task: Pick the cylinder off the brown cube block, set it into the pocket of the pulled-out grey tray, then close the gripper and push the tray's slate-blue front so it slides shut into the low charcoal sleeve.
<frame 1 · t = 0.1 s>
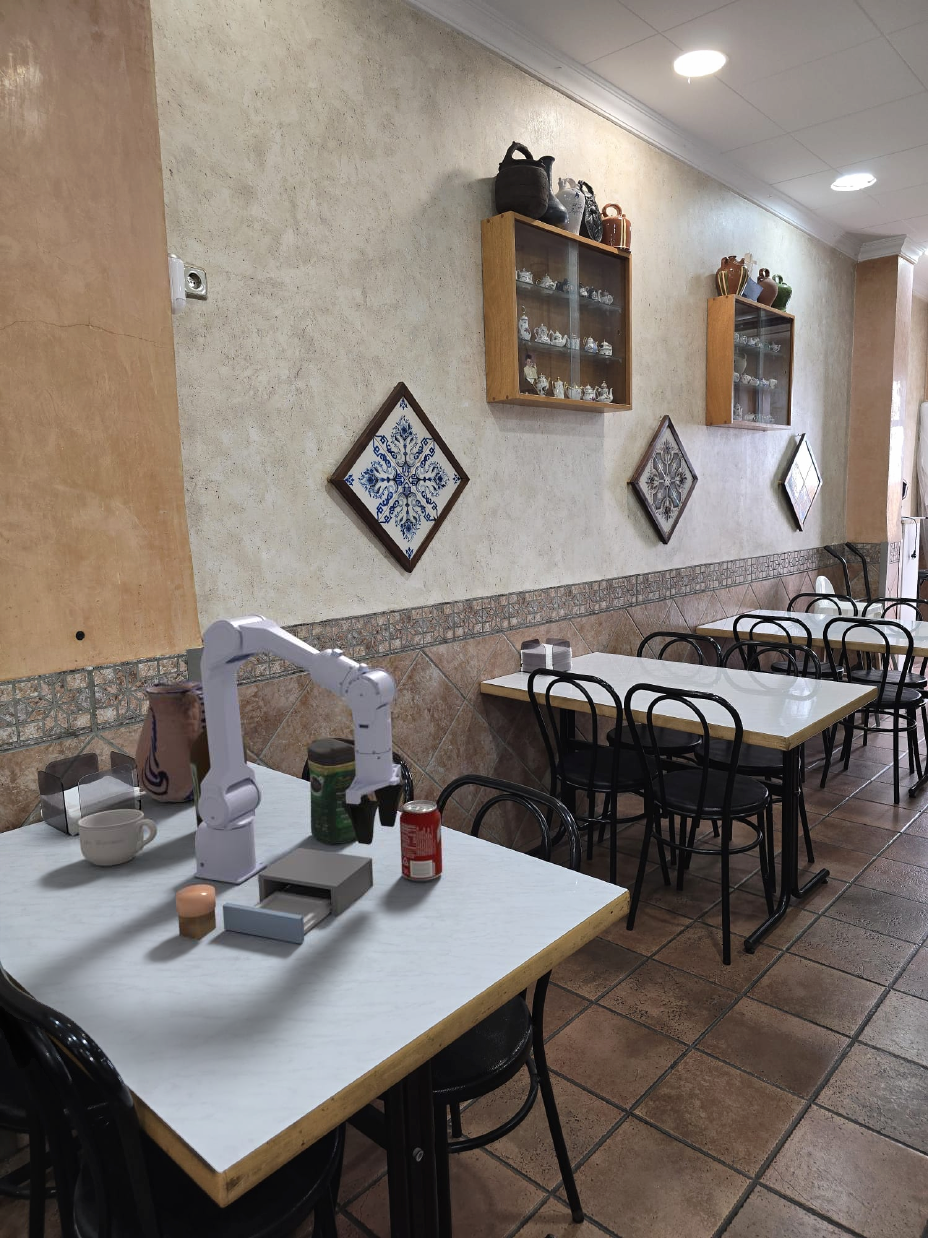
hand: (376, 834, 129), 10 cm above the table, tool pointing down, fingers open, 7 cm apart
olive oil: (222, 831, 160), on the table
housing: (316, 894, 131), on the table
teacup: (121, 861, 147), on the table
brown cube block: (197, 931, 120), on the table
coffee jar: (335, 837, 156), on the table
ceramic pitcher: (185, 798, 181), on the table
cylinder: (196, 908, 119), point 3 cm above the table, touching brown cube block
tray: (283, 907, 122), point 2 cm above the table, slide at 8.0 cm
soda can: (422, 876, 137), on the table
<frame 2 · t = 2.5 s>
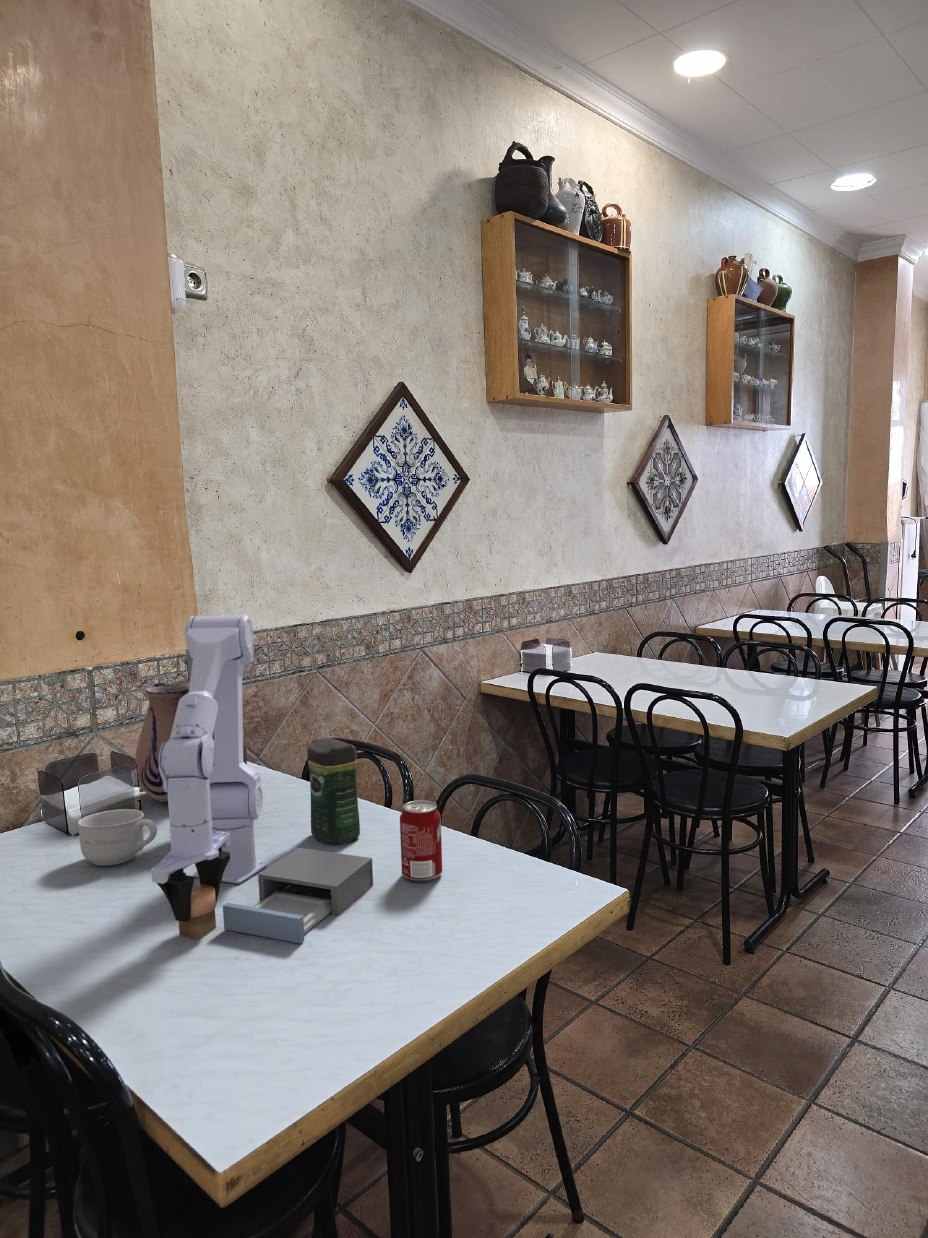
hand: (196, 911, 119), 3 cm above the table, tool pointing down, fingers closed on cylinder, 5 cm apart
cylinder: (196, 908, 119), point 3 cm above the table, touching gripper, brown cube block
everything else where it was.
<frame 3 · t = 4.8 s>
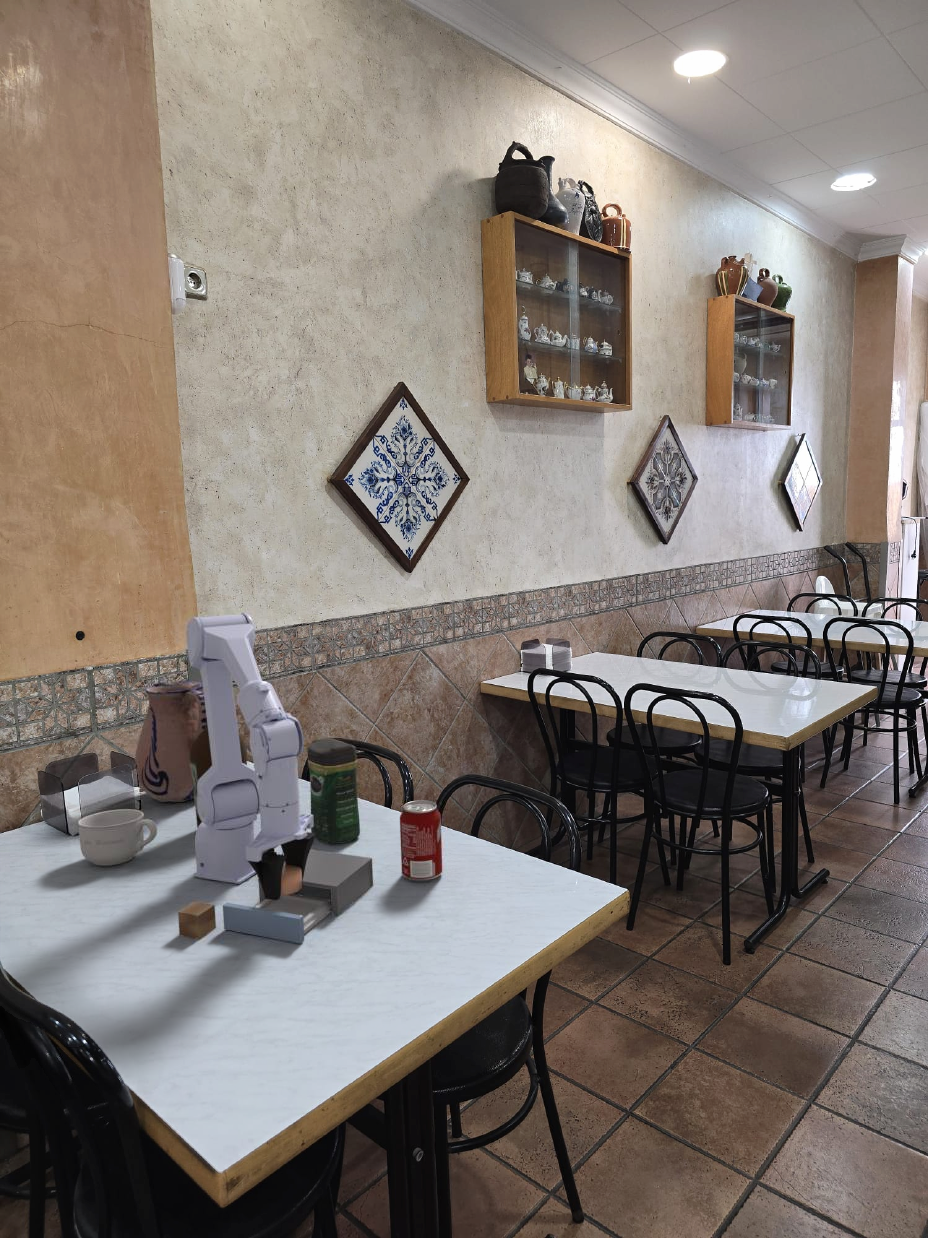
hand: (284, 890, 122), 4 cm above the table, tool pointing down, fingers closed on cylinder, 5 cm apart
cylinder: (283, 887, 122), point 5 cm above the table, touching gripper
everything else where it was.
when the fingers open (3 cm above the table, at t = 6.3 s): cylinder drops 2 cm, resting on tray.
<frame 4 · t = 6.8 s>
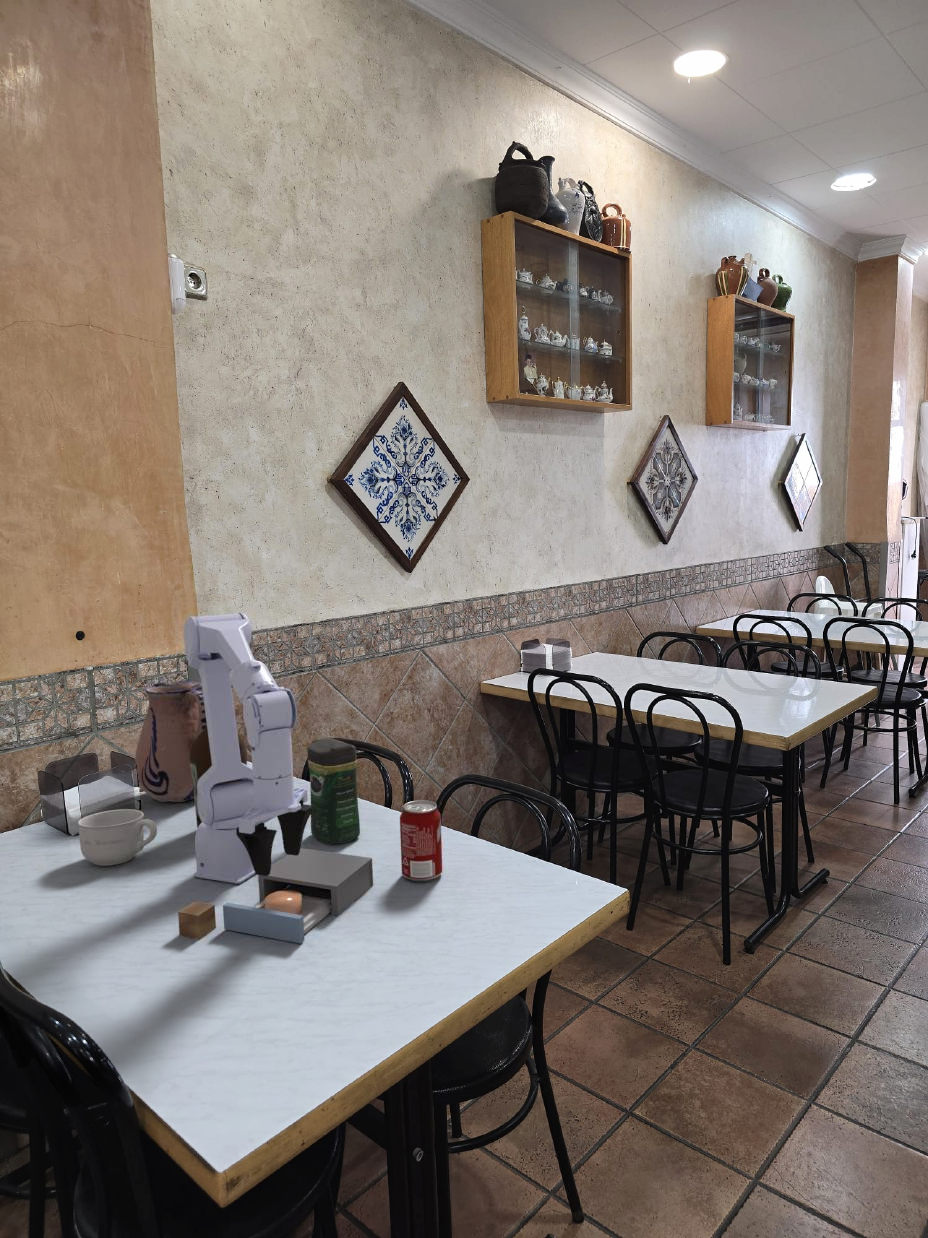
hand: (277, 864, 121), 9 cm above the table, tool pointing down, fingers open, 7 cm apart
cylinder: (283, 913, 123), point 1 cm above the table, touching tray
tray: (283, 907, 122), point 2 cm above the table, slide at 8.0 cm, touching cylinder
everything else where it was.
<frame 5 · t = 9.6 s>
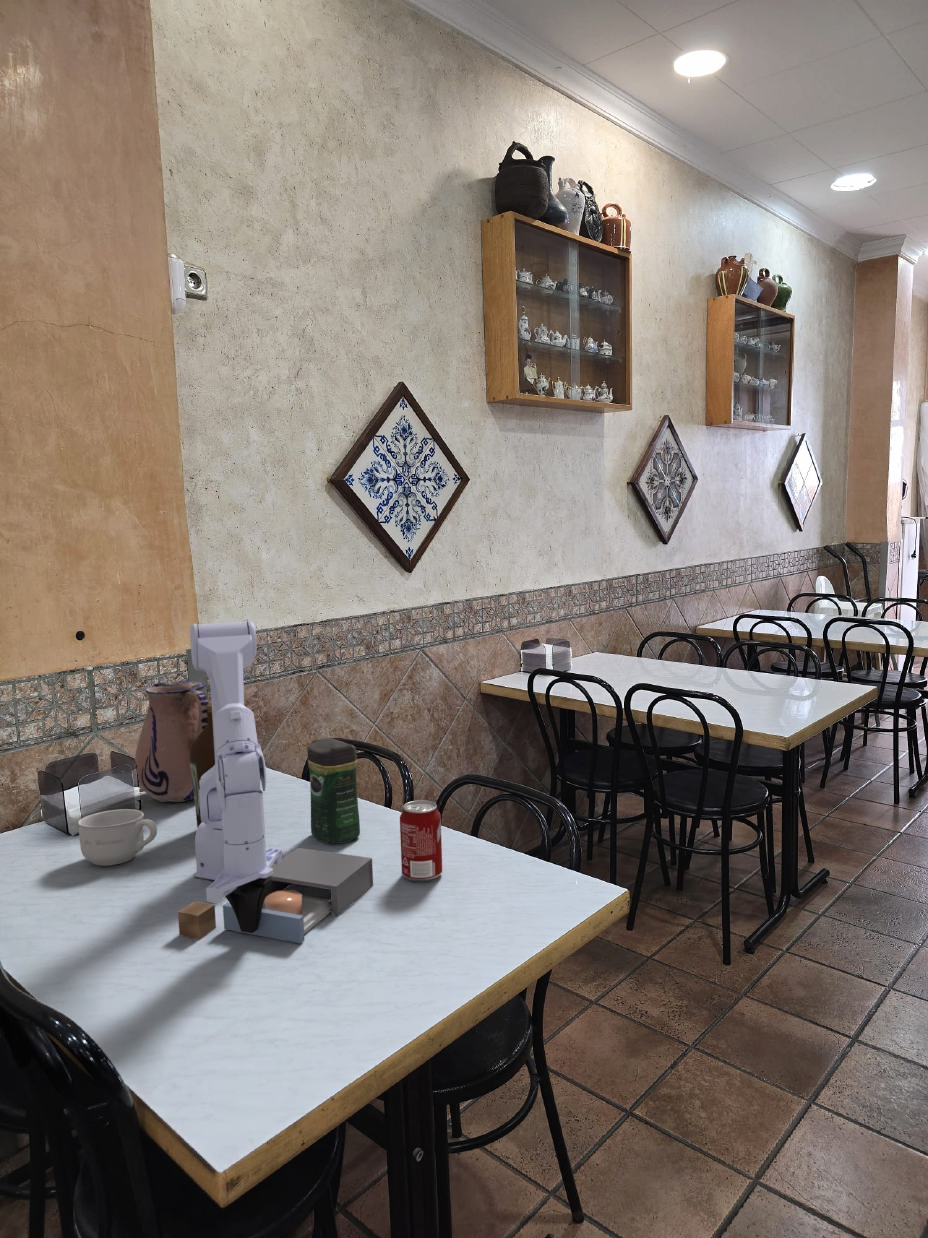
hand: (249, 930, 116), 2 cm above the table, tool pointing down, fingers closed
tray: (283, 907, 122), point 2 cm above the table, slide at 8.0 cm, touching cylinder, gripper
everything else where it was.
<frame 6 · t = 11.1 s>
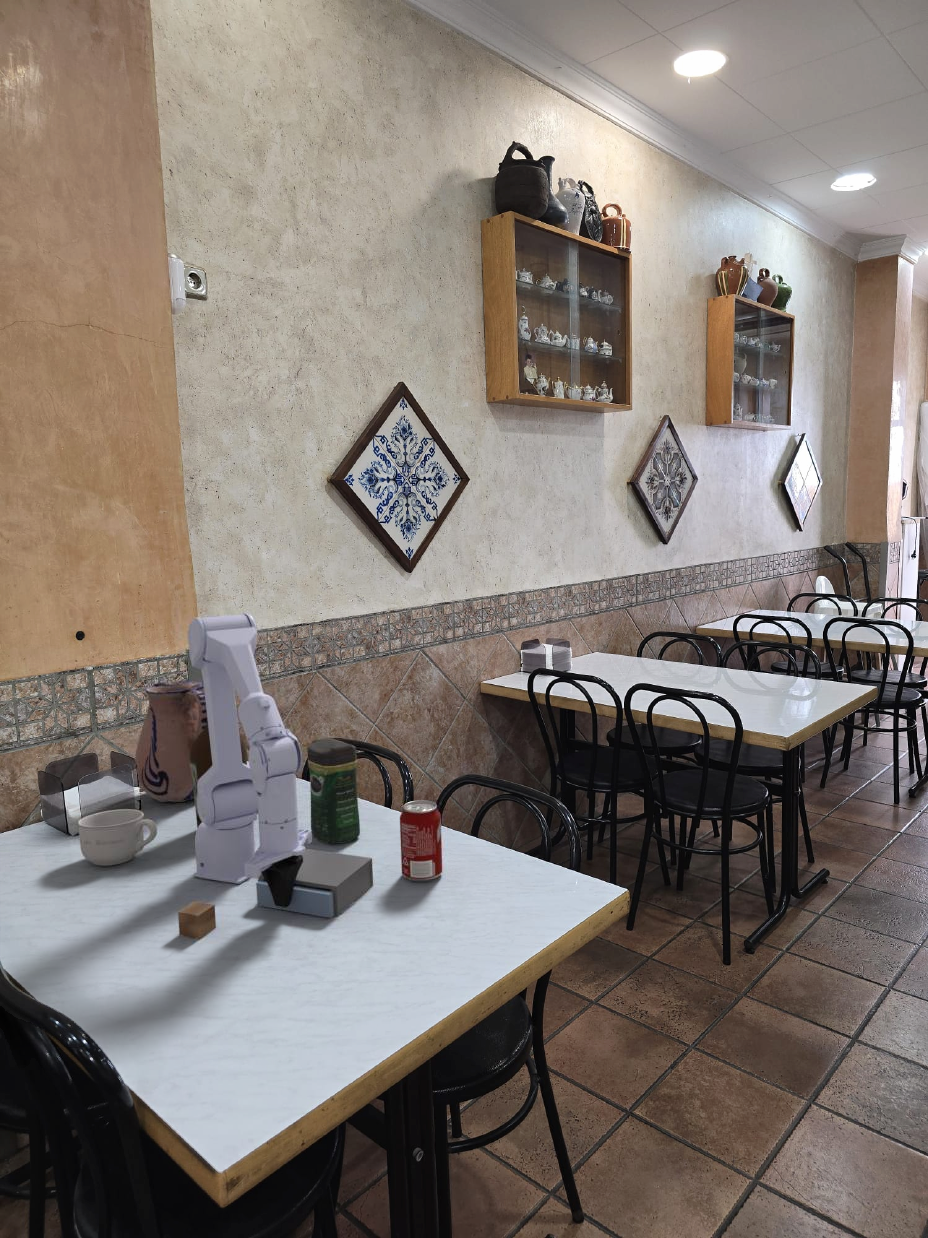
hand: (282, 905, 124), 2 cm above the table, tool pointing down, fingers closed
cylinder: (312, 891, 130), point 1 cm above the table, touching tray
tray: (312, 885, 130), point 2 cm above the table, slide at 0.0 cm, touching cylinder, gripper
everything else where it was.
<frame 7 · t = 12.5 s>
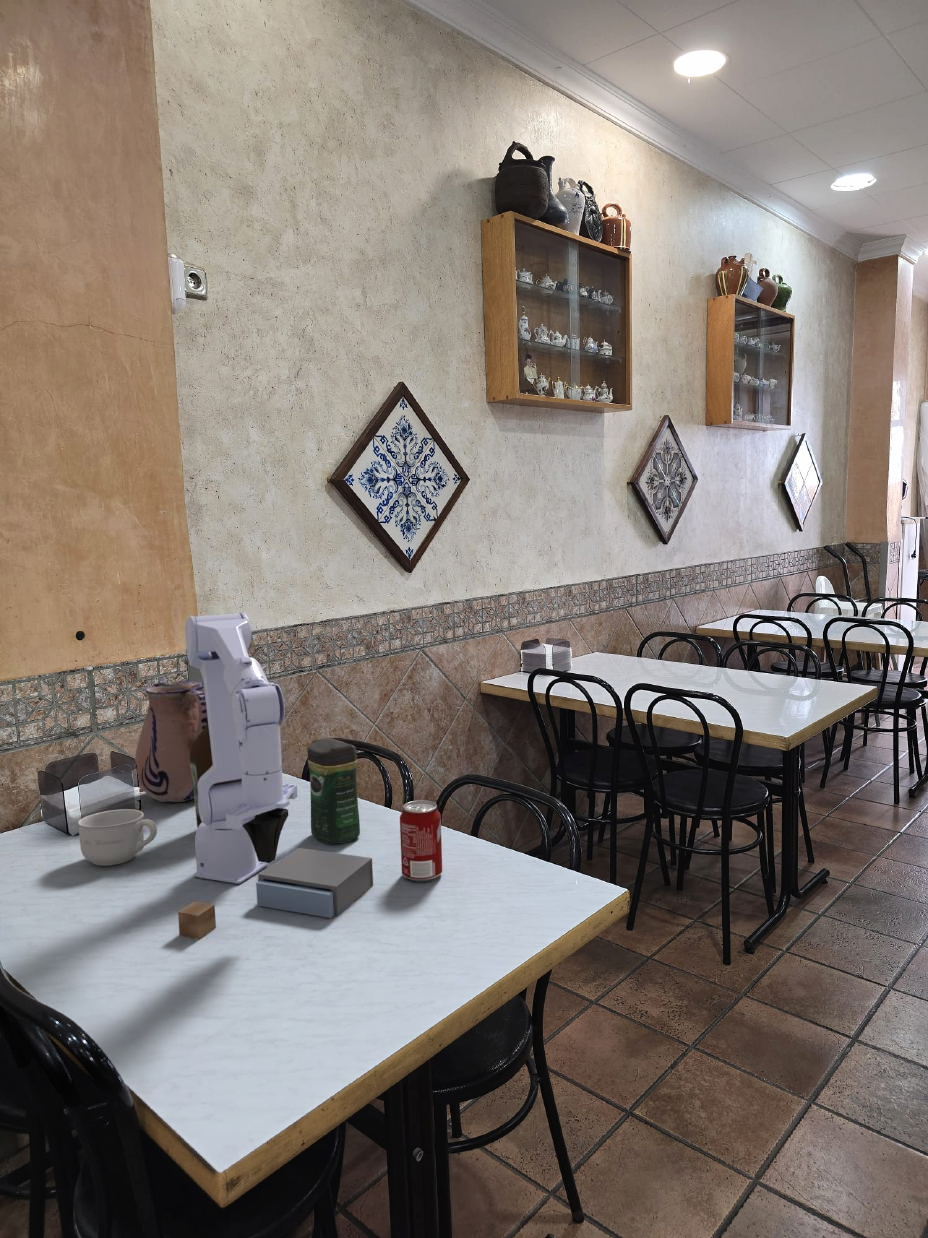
hand: (266, 860, 120), 10 cm above the table, tool pointing down, fingers closed
tray: (312, 885, 130), point 2 cm above the table, slide at 0.0 cm, touching cylinder
everything else where it was.
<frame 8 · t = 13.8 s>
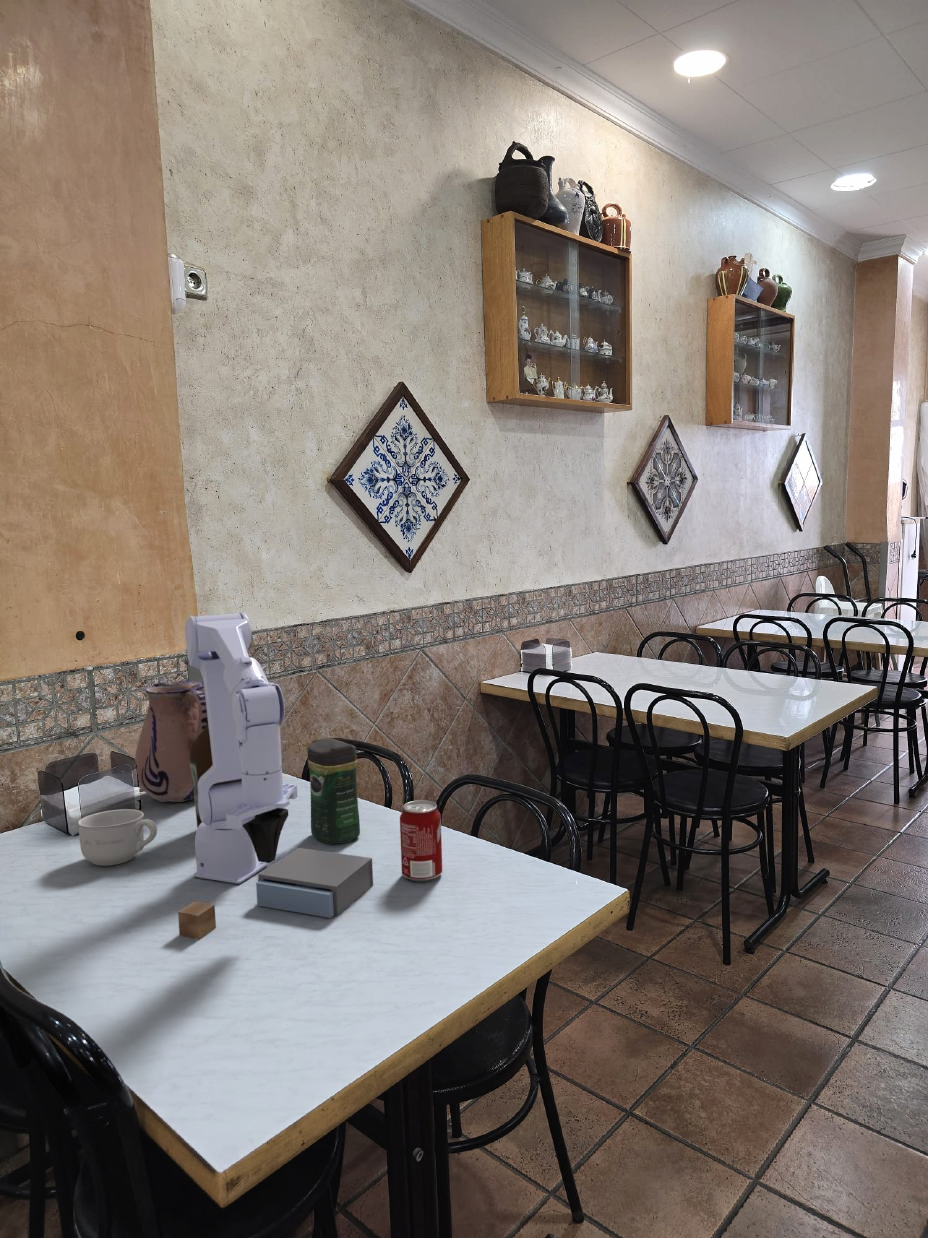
hand: (266, 860, 120), 10 cm above the table, tool pointing down, fingers closed
nothing on the table moved.
at the end: tray slide at 0.0 cm; cylinder inside the target area on the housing (0.5 cm from its centre), point 0.8 cm above the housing's base; the gripper is holding nothing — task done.
